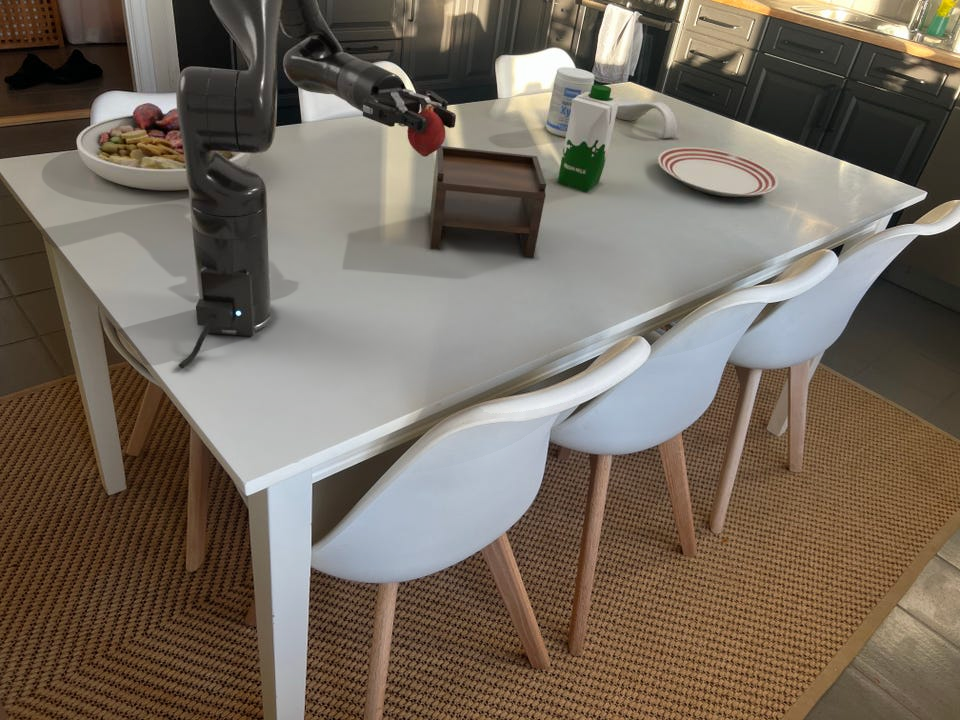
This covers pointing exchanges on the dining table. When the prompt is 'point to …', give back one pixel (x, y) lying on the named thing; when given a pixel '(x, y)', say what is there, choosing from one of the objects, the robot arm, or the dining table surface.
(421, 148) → the onion
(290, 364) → the dining table surface
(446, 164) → the shelf stand
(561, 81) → the supplement tub
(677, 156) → the dinner plate
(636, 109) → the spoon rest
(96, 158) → the bowl
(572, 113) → the milk carton
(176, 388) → the dining table surface
